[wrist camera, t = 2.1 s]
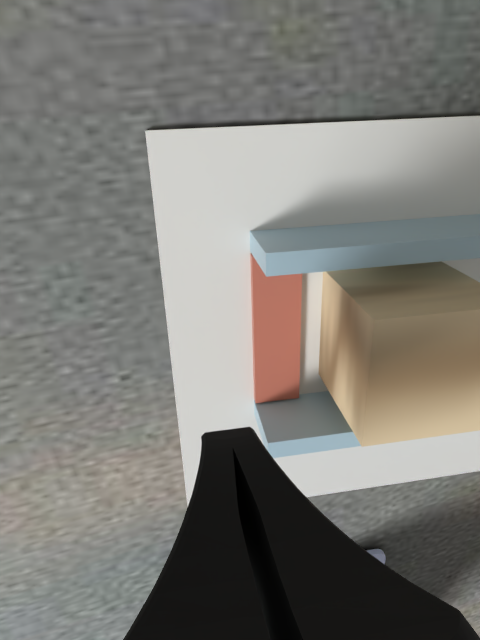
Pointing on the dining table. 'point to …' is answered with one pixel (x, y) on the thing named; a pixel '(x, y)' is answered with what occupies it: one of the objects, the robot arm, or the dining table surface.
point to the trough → (285, 312)
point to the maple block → (402, 350)
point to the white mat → (302, 211)
